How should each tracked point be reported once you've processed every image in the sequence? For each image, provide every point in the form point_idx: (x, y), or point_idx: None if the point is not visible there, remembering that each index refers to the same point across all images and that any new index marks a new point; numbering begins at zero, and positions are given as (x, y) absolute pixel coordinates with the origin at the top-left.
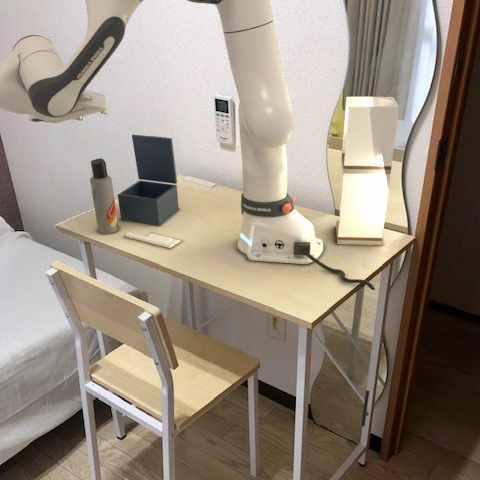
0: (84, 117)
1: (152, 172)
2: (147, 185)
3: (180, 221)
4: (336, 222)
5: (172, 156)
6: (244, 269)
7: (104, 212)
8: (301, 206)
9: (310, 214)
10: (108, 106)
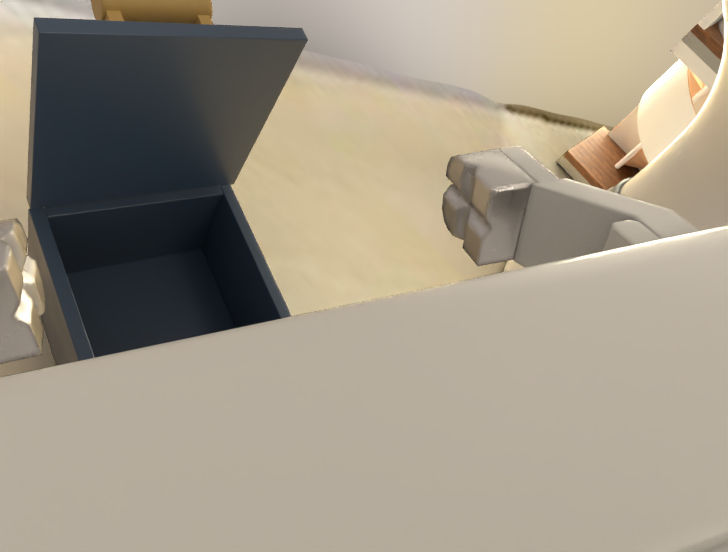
0: (38, 271)
1: (129, 172)
2: (87, 221)
3: (291, 315)
4: (568, 155)
5: (273, 103)
6: None
7: None
8: (433, 94)
9: (478, 124)
10: (523, 150)
